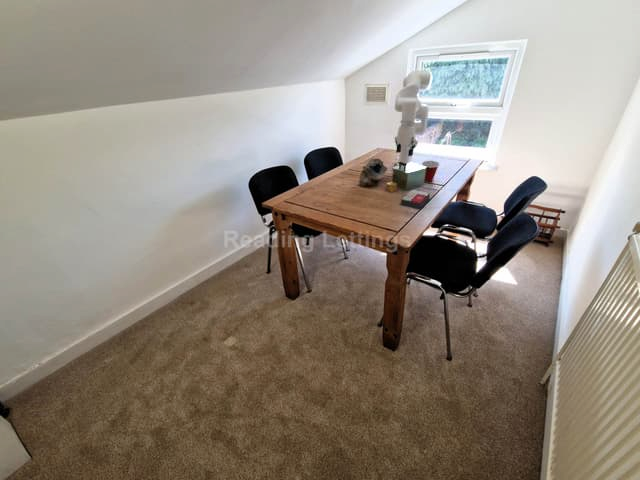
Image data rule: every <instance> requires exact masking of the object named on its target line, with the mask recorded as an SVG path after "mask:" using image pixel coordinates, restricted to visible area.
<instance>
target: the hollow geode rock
mask: <svg viewBox="0 0 640 480" xmlns="http://www.w3.org/2000/svg"><path fill="white" fill-rule="evenodd" d="M387 171H388V167H387V166H386V165H384V161H382V160H381V159H380V158H372V159H369V161H368V163H367V164H365V165H364V166H362V170H361V173H360V174H359V180H358V181H359V183H360V185H361V186H362V187H367V186H370V187H372V186H373V184H374V183H375V182H376V181H380V179H382V178H383V176H384V174H385V173H386V172H387Z"/></svg>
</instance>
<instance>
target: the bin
mask: <svg viewBox="0 0 640 480" xmlns="http://www.w3.org/2000/svg"><path fill="white" fill-rule="evenodd" d="M425 172H426V169H423V170H420V171H416V172H413V173H410V174H405V173H402V172H400V171H397V170H394V169H392V178H391V182H394V183H396V184H397V186H396V188H399V189H401V190H403V191H409V190H410V191H411V190H414V189H416V188H419V187H422V186H424V183H425V181H424V179H425Z"/></svg>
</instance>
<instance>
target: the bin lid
mask: <svg viewBox="0 0 640 480" xmlns="http://www.w3.org/2000/svg"><path fill="white" fill-rule="evenodd" d="M393 169H394V170H397V171H400V172H402V173H405V174H410V173H413V172H416V171H420V170H423V169H426V167H423V165H420V164H418V163H414V162H412V163H408V164H406V163H403V162H399V166H397V165H396V166H394V167H392V170H393Z"/></svg>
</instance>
